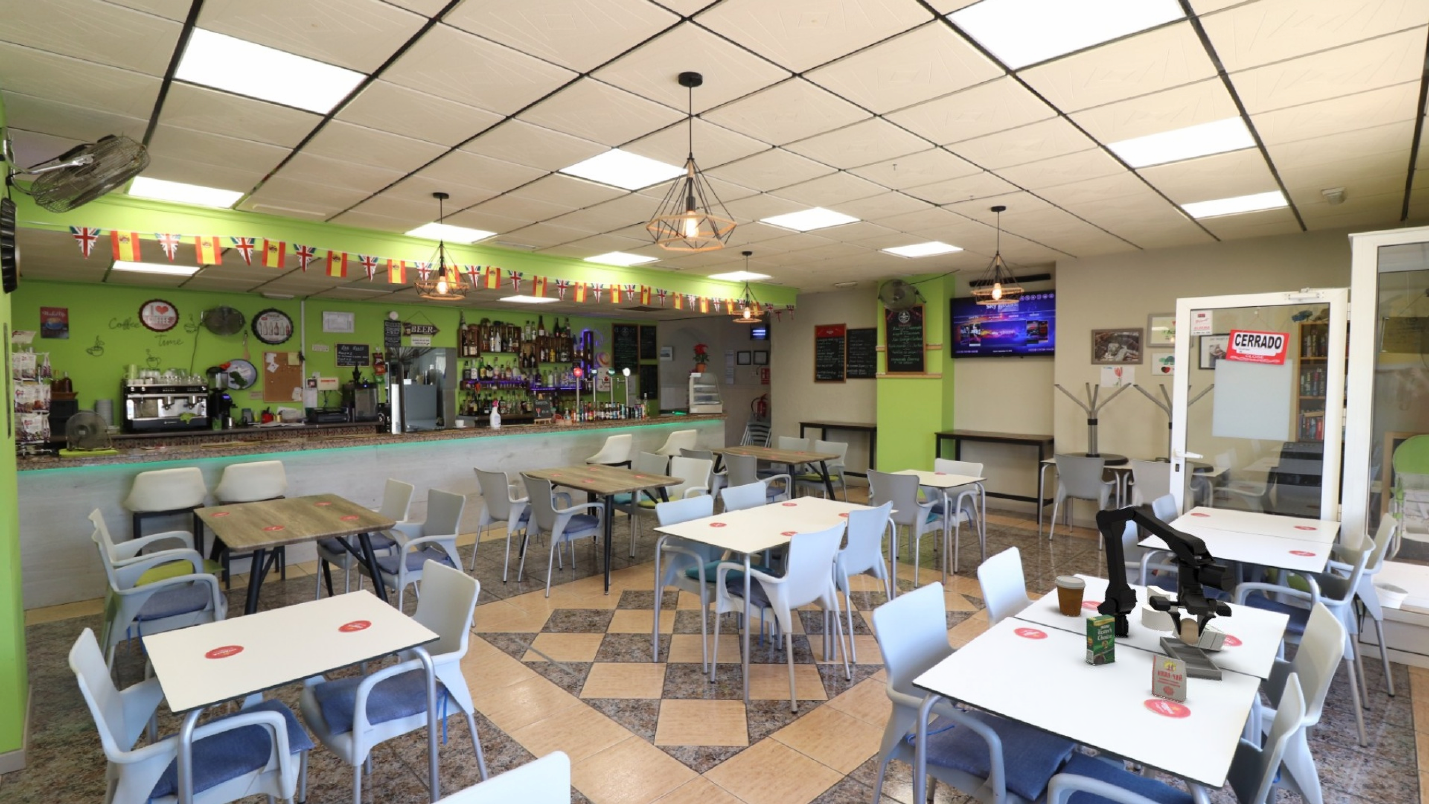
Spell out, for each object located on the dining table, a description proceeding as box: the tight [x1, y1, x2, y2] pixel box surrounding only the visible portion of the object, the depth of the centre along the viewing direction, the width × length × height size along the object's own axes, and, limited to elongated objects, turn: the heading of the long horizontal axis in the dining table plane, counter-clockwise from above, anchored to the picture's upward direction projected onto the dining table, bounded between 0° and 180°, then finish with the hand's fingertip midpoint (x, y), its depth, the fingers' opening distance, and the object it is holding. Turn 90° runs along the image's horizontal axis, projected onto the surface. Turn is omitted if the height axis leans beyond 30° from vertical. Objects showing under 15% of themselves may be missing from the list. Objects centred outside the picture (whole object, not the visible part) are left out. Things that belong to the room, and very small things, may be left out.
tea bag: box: [1151, 653, 1188, 703], centre depth 172 cm, size 4×7×10 cm, turn 45°
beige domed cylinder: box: [1180, 617, 1199, 644], centre depth 193 cm, size 4×4×7 cm
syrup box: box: [1171, 618, 1228, 652], centre depth 200 cm, size 6×6×14 cm
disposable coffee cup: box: [1054, 575, 1087, 617], centre depth 233 cm, size 10×10×12 cm
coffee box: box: [1085, 614, 1116, 665], centre depth 193 cm, size 8×3×13 cm, turn 107°
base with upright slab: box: [1141, 585, 1175, 632], centre depth 221 cm, size 9×9×12 cm
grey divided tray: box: [1159, 635, 1223, 681], centre depth 193 cm, size 8×23×2 cm, turn 161°
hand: (1188, 635), depth 193 cm, fingers closed on beige domed cylinder, 4 cm apart
